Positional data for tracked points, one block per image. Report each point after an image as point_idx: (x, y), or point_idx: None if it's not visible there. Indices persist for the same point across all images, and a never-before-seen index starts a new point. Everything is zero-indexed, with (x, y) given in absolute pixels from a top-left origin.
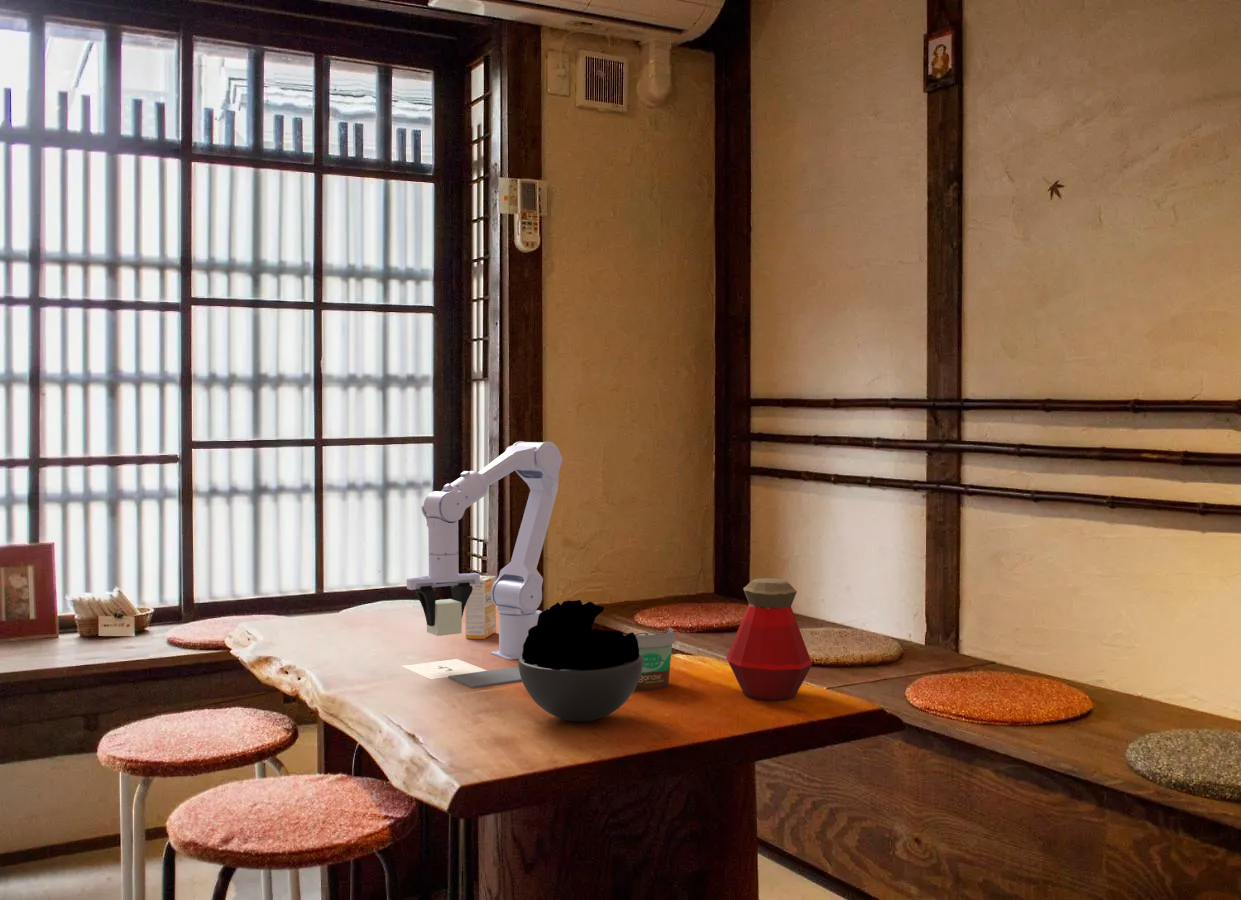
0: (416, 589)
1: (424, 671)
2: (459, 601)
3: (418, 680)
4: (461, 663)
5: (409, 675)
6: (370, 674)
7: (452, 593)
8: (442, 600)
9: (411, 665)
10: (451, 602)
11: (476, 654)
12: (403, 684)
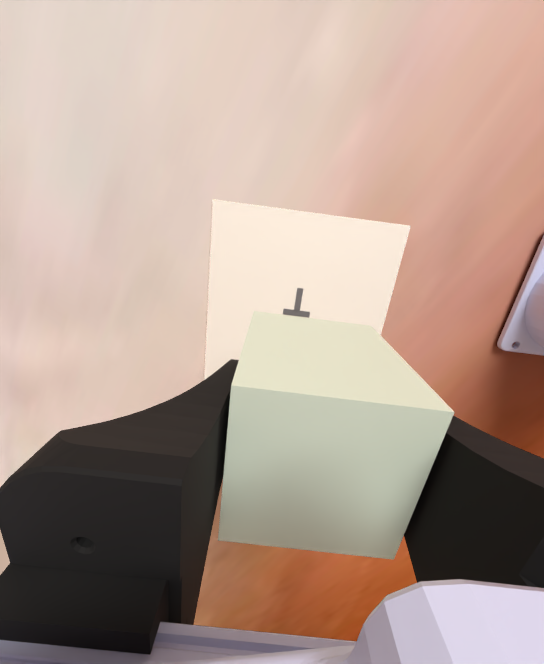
0: (14, 532)
1: (233, 317)
2: (410, 530)
3: (179, 379)
4: (373, 296)
5: (185, 317)
6: (95, 230)
7: (486, 477)
8: (354, 433)
9: (243, 215)
10: (338, 534)
11: (520, 186)
12: (132, 390)
